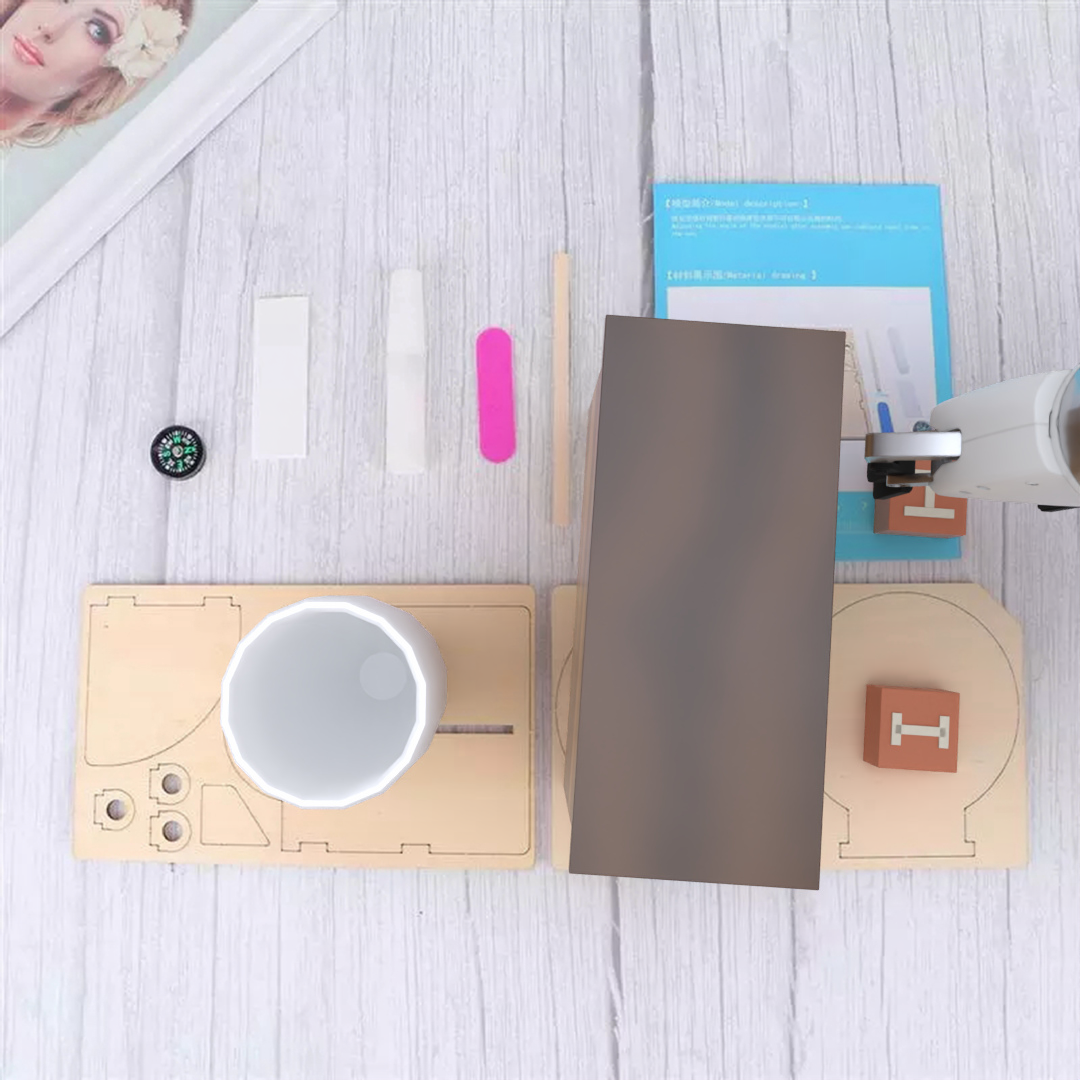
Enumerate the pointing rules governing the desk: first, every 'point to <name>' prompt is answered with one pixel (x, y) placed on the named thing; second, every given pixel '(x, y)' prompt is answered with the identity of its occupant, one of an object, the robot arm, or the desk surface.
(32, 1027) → the desk surface
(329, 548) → the desk surface
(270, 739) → the cup
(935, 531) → the tile
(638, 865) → the word board
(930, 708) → the tile
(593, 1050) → the desk surface
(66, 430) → the desk surface
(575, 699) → the stand
